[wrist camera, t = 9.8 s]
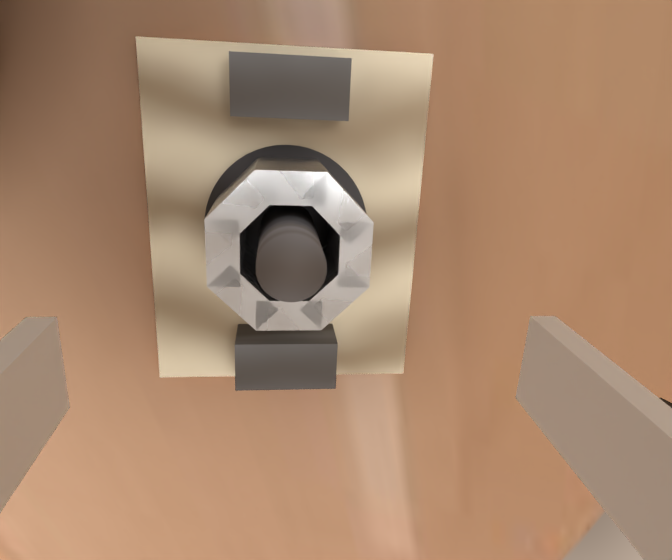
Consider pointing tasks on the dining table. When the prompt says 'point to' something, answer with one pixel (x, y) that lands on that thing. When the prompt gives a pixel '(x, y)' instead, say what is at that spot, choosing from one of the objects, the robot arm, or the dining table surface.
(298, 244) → the shaft stand
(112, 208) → the dining table surface
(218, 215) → the hub
